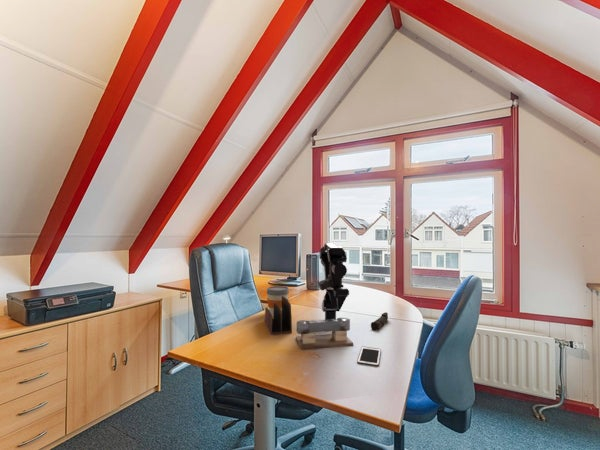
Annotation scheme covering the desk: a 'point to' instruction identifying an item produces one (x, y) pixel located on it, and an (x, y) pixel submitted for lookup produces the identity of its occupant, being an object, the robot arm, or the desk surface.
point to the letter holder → (279, 318)
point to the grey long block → (323, 325)
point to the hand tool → (380, 321)
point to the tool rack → (323, 340)
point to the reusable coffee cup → (276, 296)
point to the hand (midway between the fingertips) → (335, 306)
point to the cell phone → (369, 356)
